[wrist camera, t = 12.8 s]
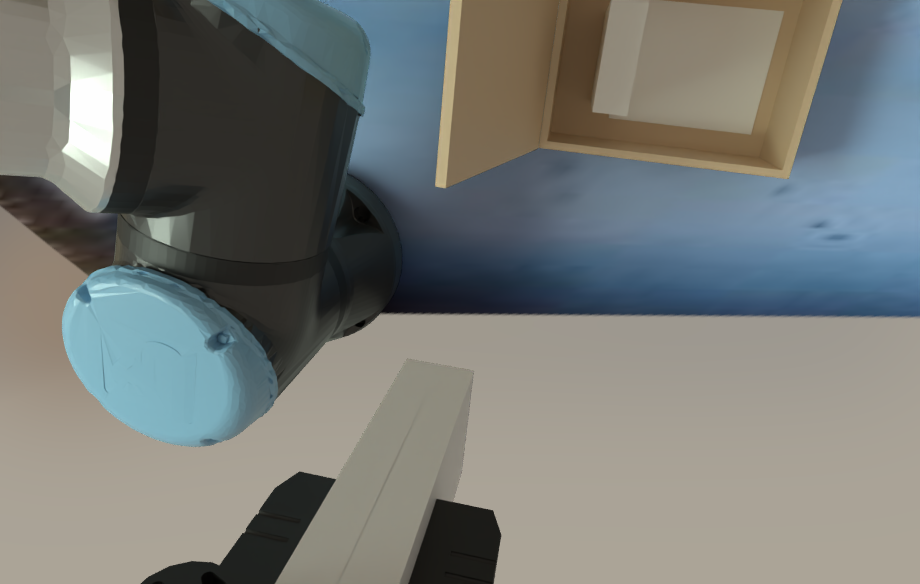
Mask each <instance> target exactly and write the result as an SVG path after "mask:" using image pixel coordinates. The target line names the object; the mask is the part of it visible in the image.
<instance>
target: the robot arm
mask: <svg viewBox="0 0 920 584" xmlns="http://www.w3.org/2000/svg"><path fill="white" fill-rule="evenodd" d="M370 56H371V54H370V44H369V40H368V38H367V35H366V34H365V32H364V30H363V29H362V27H361V26H360V25H359V24H358V23H357V22H356V21H355V20H354V19H353V18H351V17H350V16H348V15H346V14H344V13H342V12H340V11H338V10H336V9H334V8H332V7H330V6H328V5H326V4H324V3H322V2H320V1H318V0H0V175H15V176H31V177H42V178H45V179H47V180H49V181H51V182H53V183H54V184H55V185H56V186H58V187H59V188H60V189H61V190H62V191H63V192H65V193H66V194H67V195H68V196H69V197H70V198H71V199H73V200H74V201H75V202H76V203H77V204H78V205H80V206H81V207H82V208H83V209H84V210H85V211H88V212H92V213H118V221H117V234H116V246H115V259H114V262H113V265H112V266H109V267H107V268H104V269H100V270H97V271H95V272H94V273H92V274H90V275H89V277H88V278H87V279H86V281H84V282H83V284H82V285H81V286H79V287H78V288H77V289H76V290H75V291H74V292H73V293H72V295H71V296H70V298H69V299H68V302H67V304H66V307H65V309H64V313H63V318H62V334H63V340H64V345H65V349H66V352H67V354H68V357H69V360H70V362H71V364H72V366H73V368H74V370H75V372H76V374H77V376H78V377H79V378H80V380H81V381H82V383H83V384H84V386H85V387H86V388H87V390H88V391H89V392H90V393H92V394H93V395H94V396H95V397H96V398H97V399H98V400H99V402H100V403H101V404H102V406H103V407H104V408H105V409H106V410H108V412H110V413H111V414H112V415H113V416H115V417H116V418H118V419H119V420H120V421H121V422H123V423H125V424H126V425H128V426H129V427H131V428H132V429H134V430H136V431H138V432H140V433H142V434H144V435H146V436H149V437H151V438H154V439H156V440H159V441H162V442H166V443H170V444H174V445H181V446H189V447H190V446H191V447H201V446H210V445H214V444H216V443H218V442H222V441H224V440H229V439H231V438H233V437H235V436H237V435H238V434H240V433H241V432H242V431H244V430H245V429H246V428H247V427H248V426H249V425H250V424H252V423H253V422H254V421H256V420H257V419H258V418H259V417H262V416H263V415H264V414H265V413H267V411H269V410H270V408H271V407H272V406H273V404H274V401H275V400H276V399H277V397H278V396H279V395H280V394H281V393H282V392H283V391H284V390H285V388H286V387H287V386H288V385H289V384H290V383H291V382H292V381H293V379H294V378H295V377H296V376H297V375H298V374H299V373H300V371H301V370H302V369H303V368H304V367H305V366H306V364H308V362H309V361H310V360H311V359H312V358H313V357H314V356H315V354H316V353H317V352H318V351H319V350H320V349H321V347H322V346H323V345H324V344H325V343H326V342H328V341H332V340H335V339H338V338H342V337H345V336H348V335H351V334H353V333H355V332H357V331H359V330H361V329H362V328H364V327H366V326H367V325H368V324H370V323H371V322H372V321H373V320H374V319H375V318H376V317H377V316H378V315H379V314H380V313H381V312H382V310H383V309H384V308H385V307H386V305H387V304H388V303H389V301H390V300H391V298H392V297H393V295H394V293H395V291H396V288H397V286H398V283H399V279H400V275H401V269H402V250H401V244H400V239H399V235H398V232H397V229H396V226H395V224H394V222H393V220H392V218H391V216H390V214H389V212H388V211H387V209H386V208H385V206H384V205H383V203H382V202H381V201H380V200H379V199H378V197H377V196H376V195H375V194H374V193H373V192H372V191H371V190H370V189H369V188H367V187H366V186H365V185H364V184H362V183H361V182H360V181H358V180H357V179H355V178H353V177H352V176H350V175H348V174H347V171H348V166H349V162H350V157H351V153H352V148H353V144H354V139H355V135H356V130H357V126H358V121H359V117H360V116H361V117H363V116H364V112H365V107H364V105H363V97H364V91H365V86H366V80H367V75H368V69H369V63H370ZM473 374H474V371H473V370H468V369H462V368H456V367H451V366H445V365H440V364H434V363H428V362H422V361H417V360H412V359H407V360H406V362H405V363H404V365H403V367H402V369H401V370H400V372H399V374H398V376H397V377H396V379H395V380H394V382H393V384H392V385H391V387H390V389H389V391H388V393H387V394H386V396H385V398H384V399H383V401H382V403H381V404H380V406H379V408H378V409H377V411H376V413H375V414H374V416H373V418H372V420H371V421H370V423H369V425H368V426H367V428H366V430H365V431H364V433H363V435H362V436H361V438H360V440H359V442H358V443H357V445H356V447H355V448H354V450H353V452H352V454H351V455H350V457H349V459H348V460H347V462H346V464H345V466H344V467H343V469H342V471H341V472H340V474H339V476H338V478H337V479H332V478H327V477H323V476H318V475H313V474H308V473H304V472H298V473H297V474H295V475H294V476H292V477H291V478H289V479H288V480H286V481H285V482H283V483H282V484H280V485H279V486H277V487H276V488H275V489H274V490H273V492H272V493H271V494H270V496H269V497H268V499H267V500H266V501H265V503H264V504H263V506H262V507H261V509H260V510H259V514H258V515H257V514H256V516H255V517H254V518H253V520H252V521H251V522H250V524H249V525H248V527H247V528H246V532H245V533H242V535H241V536H240V538H239V539H238V540H237V542H236V543H235V545H234V546H233V547H232V549H231V550H230V551H229V553H228V554H227V556H226V557H225V558H224V560H223V561H222V563H221V564H220V565H217V564H214V563H211V562H196V561H191V562H187V563H182V564H177V565H173V566H169V567H167V568H165V569H163V570H161V571H159V572H157V573H155V574H153V575H151V576H149V577H148V578H146V579H145V580H144V581H143V582H142V583H141V584H494V578H495V571H496V565H497V558H498V552H499V546H500V539H501V533H500V530H499V527H498V524H497V521H496V518H495V515H494V512H493V510H488V509H483V508H479V507H473V506H469V505H464V504H460V503H455V502H453V500H454V497H455V493H456V490H457V486H458V483H459V480H460V477H461V473H462V466H463V457H464V449H465V441H466V432H467V424H468V416H469V407H470V399H471V391H472V390H471V389H472V382H473Z"/></svg>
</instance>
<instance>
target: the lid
mask: <svg viewBox="0 0 920 584" xmlns="http://www.w3.org/2000/svg"><path fill="white" fill-rule="evenodd" d="M558 6H559V0H450V10H449V23H448V35H447V47H446V59H445V72H444V84H443V96H442V108H441V120H440V133H439V145H438V157H437V169H436V181H435V187H441V188H448V187H450V186H452V185H455V184H457V183H459V182H462V181H464V180H466V179H469V178H471V177H473V176H476V175H478V174H480V173H482V172H485V171H487V170H489V169H492V168H494V167H496V166H499V165H501V164H503V163H506V162H508V161H510V160H513V159H515V158H517V157H520V156H522V155H524V154H527V153H529V152H531V151H534V150H536V149H538V146H539V139H540V132H541V125H542V118H543V111H544V104H545V97H546V90H547V83H548V76H549V69H550V62H551V55H552V48H553V41H554V34H555V27H556V20H557V13H558Z"/></svg>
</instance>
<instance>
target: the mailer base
mask: <svg viewBox="0 0 920 584" xmlns="http://www.w3.org/2000/svg"><path fill="white" fill-rule="evenodd" d="M841 3H842V0H560V1H559V8H558V15H557V22H556V29H555V36H554V43H553V50H552V57H551V64H550V71H549V78H548V85H547V92H546V99H545V106H544V113H543V120H542V127H541V134H540V141H539V148H544V149H552V150H560V151H568V152H576V153H584V154H592V155H600V156H608V157H616V158H624V159H632V160H640V161H648V162H656V163H664V164H672V165H680V166H688V167H696V168H704V169H712V170H720V171H728V172H736V173H743V174H751V175H759V176H767V177H775V178H783V179H789V176H790V172H791V169H792V166H793V162H794V159H795V156H796V152H797V149H798V146H799V143H800V139H801V136H802V133H803V129H804V126H805V123H806V119H807V116H808V113H809V109H810V106H811V103H812V100H813V96H814V93H815V90H816V86H817V83H818V80H819V76H820V73H821V70H822V66H823V63H824V60H825V56H826V53H827V50H828V47H829V43H830V40H831V37H832V33H833V30H834V27H835V23H836V20H837V17H838V13H839V10H840V7H841Z"/></svg>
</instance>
